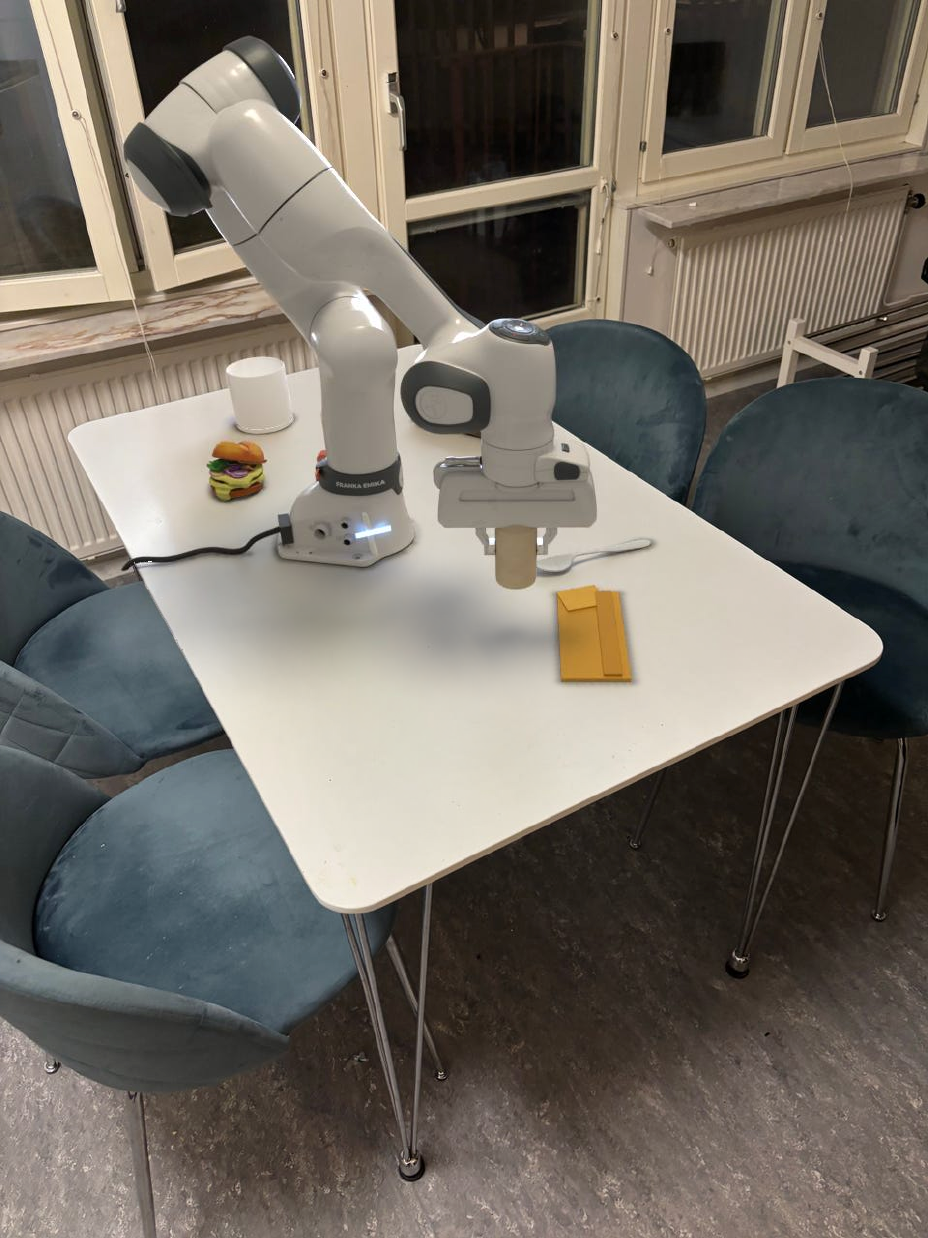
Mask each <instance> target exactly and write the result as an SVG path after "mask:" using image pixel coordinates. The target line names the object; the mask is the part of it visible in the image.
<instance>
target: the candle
mask: <svg viewBox="0 0 928 1238" xmlns="http://www.w3.org/2000/svg"><path fill="white" fill-rule="evenodd" d="M494 538H495V555H494V578H495V582H496V583H497V585H498V586H500V587H502V588H505V589H507V590H512V591H513V590H515V591H517V590H524V589H527V588H530V587H531V586H533V585H534V584H535V582H536V581H537V568H536V567H537V561H538V555H537V538H538V528H528V527H525V526H521V525H516V524H515V525H510V526H508V527H504V528H494Z"/></svg>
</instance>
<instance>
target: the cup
mask: <svg viewBox="0 0 928 1238" xmlns="http://www.w3.org/2000/svg"><path fill="white" fill-rule="evenodd" d="M286 371H287V370H286V364H285V362H284V361H282V360H281V359H280V358H277V357H273V356H254V357H253V356H252V357H248V358H247V357H246V358H243V359H242V358H241V359H239V360H237V361H234V362H232V363H231V364H229V365H228V366H227V367H226V369H225V374H226V380H227V385H228V389H229V394H230V399H231V403H232V409H233V413H234V418H235V423H236V422H237V423H238V425H240V426H241V427H240V426H238V425H237V423H236V427H237V429H238V430H239V431H242V432H244V433H246V434H252V435H263V434H264V435H265V434H270V433H275V432H279V431H282V430H284V429H286V428H288V427H289V426H290V425H291V424H292V423H293V421H294V415H292V414H293V408H292V402H291V396H290V390H289V384H288V378H287V372H286ZM291 417H292V418H291ZM290 419H291V420H290ZM287 421H288V422H287ZM286 422H287V423H286ZM284 423H285V424H284ZM282 424H283V425H282ZM278 425H281V426H278ZM276 426H278V427H276ZM242 427H244V428H242ZM270 427H274V428H270ZM245 428H248V429H245ZM265 428H270V429H265ZM251 429H263V430H251Z"/></svg>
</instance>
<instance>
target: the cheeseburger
mask: <svg viewBox="0 0 928 1238" xmlns="http://www.w3.org/2000/svg"><path fill="white" fill-rule="evenodd" d="M211 457H212V458H215V459H214V460H209V461H208V463H206V468H208V469H209V470H208V474H209V478H208V483H209V485H210V488H211V491H212V492H213V494H214V495H216V496H217V498H218V499H219V500H221V501H225V502H226V501H230V500H231V499H236V498H241V497H245V496H248V495H251V494H253V493H257V492H259V491H260V490H261V489H262V488H263V484H264V480H265V478H266V476H265V474H264V469H265V467H264V465H263V464H266V463H267V462H268V459H265V455H264V451H263V450H262V448H261V447H260V445H258V443H256V442H251V441H241V442H238V443H237V442H235V441H228V440H225V441H220V442H219V443H217V444H216V446H215V447H214V448H213V449H212V453H211Z"/></svg>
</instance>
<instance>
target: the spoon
mask: <svg viewBox="0 0 928 1238" xmlns="http://www.w3.org/2000/svg"><path fill="white" fill-rule="evenodd" d="M651 543H652V542H651V540H649V539H637V540H634V541H629V542H624V543H620V544H615V545H611V546H606V547H605V546H604V547H600V548H596V549H590V550H586V551H577V552H570V553H565V554H557V555H553V556H549V557H546V558H543V559H538V560H537V567H536V569H537V570H541V571H545V572H552V573H554V572H556V573H558V572H564V571H566V570H568V569H569V568H570V567H571V566H572V565H573V562H574V560H575V559H576V558H577V557H580V556H588V555H593V554H600V553H615V552H627V551H632V550H638V549H643V548H647V547H649V546H650V545H651Z"/></svg>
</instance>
